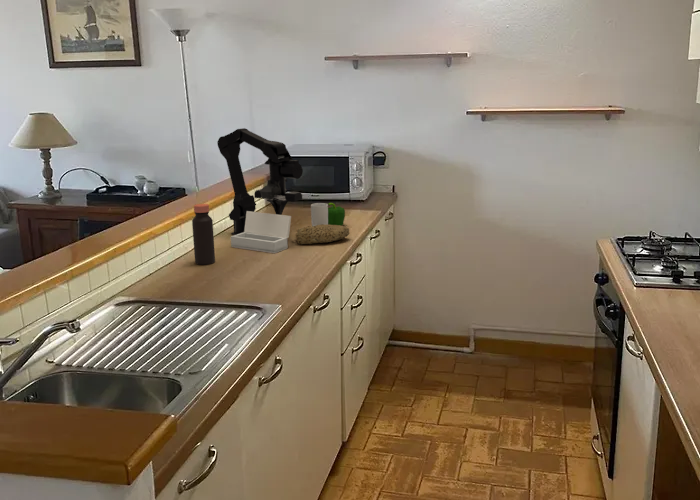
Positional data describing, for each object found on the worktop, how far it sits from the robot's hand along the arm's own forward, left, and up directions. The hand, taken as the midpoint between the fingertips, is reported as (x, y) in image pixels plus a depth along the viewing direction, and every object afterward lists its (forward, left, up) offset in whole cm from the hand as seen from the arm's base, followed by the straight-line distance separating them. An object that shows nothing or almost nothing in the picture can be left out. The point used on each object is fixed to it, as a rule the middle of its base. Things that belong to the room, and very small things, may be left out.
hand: (278, 217), depth 266 cm
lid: (0, -8, -1) cm, 8 cm away
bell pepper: (+6, +31, -9) cm, 33 cm away
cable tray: (0, -13, -9) cm, 16 cm away
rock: (+16, +6, -9) cm, 20 cm away
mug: (+8, +17, -9) cm, 21 cm away
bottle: (-4, -38, -9) cm, 39 cm away
